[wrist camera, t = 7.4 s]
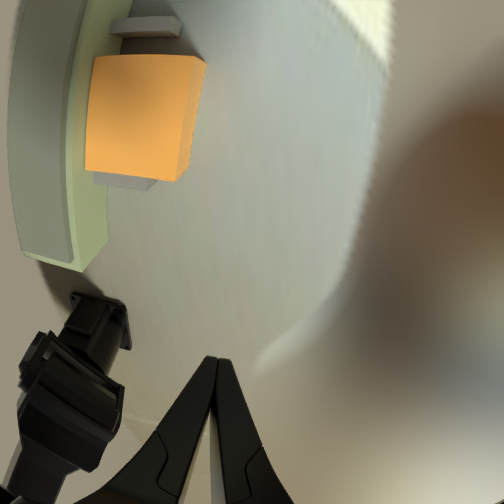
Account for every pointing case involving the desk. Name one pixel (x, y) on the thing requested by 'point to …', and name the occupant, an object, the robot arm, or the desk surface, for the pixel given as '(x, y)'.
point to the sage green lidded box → (65, 124)
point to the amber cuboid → (143, 114)
